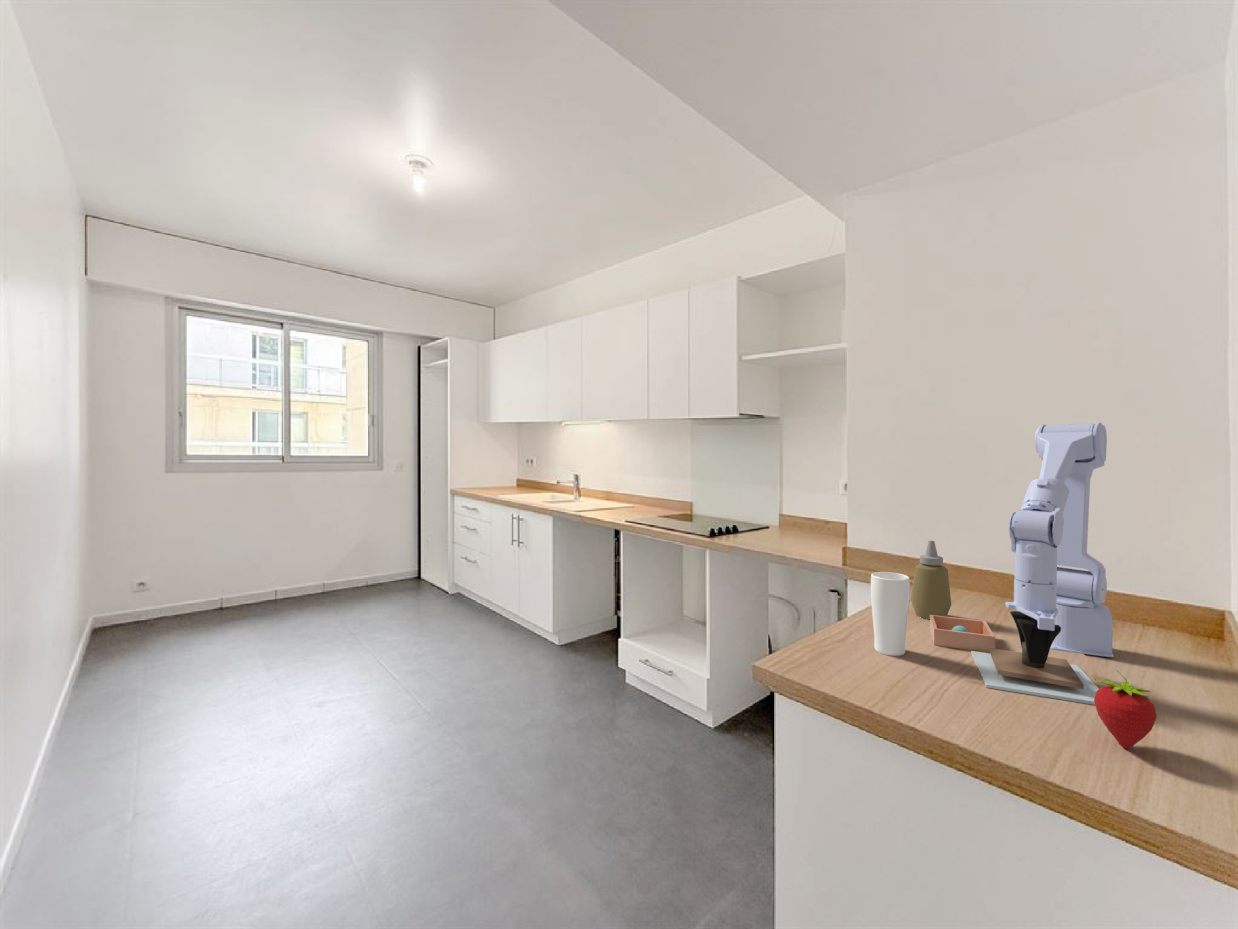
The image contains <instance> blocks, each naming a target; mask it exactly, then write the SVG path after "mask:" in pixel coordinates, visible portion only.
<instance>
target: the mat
mask: <svg viewBox="0 0 1238 929" xmlns="http://www.w3.org/2000/svg"><path fill="white" fill-rule="evenodd" d="M970 653H971V655H972V657H973V660H974V663H975V664H976V666H977V668H978V671H979V673H980V675H981V678H982V679H983V683H984V685H985V688H986V689H987V688H988V689H993V690H994V689H995V690H998V691H999V690H1000V691H1005V692H1012V693H1018V694H1025V695H1030V696H1037V697H1042V698H1043V697H1044V698H1050V699H1055V700H1062V701H1067V702H1074V703H1075V702H1076V703H1081V704H1086V705H1092V706H1095V703H1094V699H1095V694H1096V692H1097V690H1099V689H1100V688H1099V687H1098V685H1096V684H1095V683H1094V681H1093V680H1092V679H1091V678H1090V677H1089V676H1088V675H1087V674H1086V673H1085V672H1084V670H1083V669H1081V667H1080V666H1079V665H1078V664H1071V663H1069V664H1070V666H1071V667H1072V668H1073V670H1074V671H1075V673H1076V674H1077V676H1078V677H1079V678H1080V680H1081V681H1082V683H1083V684H1084V689H1079V688H1073V687H1068V686H1062V685H1056V684H1050V683H1045V682H1039V681H1033V680H1027V679H1021V678H1016V677H1010V676H1004V675H998V673H997V670H996V668H995V665H994V662H993V659H992V656H991V654H990V653H987V652H980V651H973V650H970Z"/></svg>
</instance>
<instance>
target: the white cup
mask: <svg viewBox="0 0 1238 929" xmlns="http://www.w3.org/2000/svg"><path fill="white" fill-rule="evenodd" d="M910 580H911V579H910V576H908V575H906V574H903V573H899V572H898V573H897V572H892V571H891V572H890V571H874V572H872V573H871V574H870V602H871V603H870V604H871V614H872V615H871V617H872V625H873V626H872V627H873V639H874V640H873V643H874V646H873V647H874V649H875V651H876V652H877V653H880V654H881V655H886V656H889V657H901V656H903V655H905V653H906V641H907V630H908V621H909V612H910V611H909V609H910V601H911V584H910V582H911V581H910Z"/></svg>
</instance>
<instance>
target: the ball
mask: <svg viewBox="0 0 1238 929" xmlns="http://www.w3.org/2000/svg"><path fill="white" fill-rule="evenodd" d="M952 631H961V632H968V630H967V629H966V628H965V627H963V626H955V627H954V628H953V629H952Z"/></svg>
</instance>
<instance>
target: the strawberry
mask: <svg viewBox="0 0 1238 929" xmlns="http://www.w3.org/2000/svg"><path fill="white" fill-rule="evenodd" d="M1116 672H1117V673H1118V674H1119V675H1120V676H1122V678H1123V679H1124V680H1125V681H1123V682H1122V681H1121V682H1120V684H1119V683H1116V682H1114V681H1107V680H1101V679H1094V681H1096V682H1099V683H1101V684H1104V686H1102V687H1100V688H1099V690H1097V692H1096V694H1095V699H1094V703H1095V705H1094V707H1095V708H1096V712H1097V715H1098V717H1099V719H1100V720H1101V722H1102V723H1103V724H1104V726H1105V728H1106V729H1107V730H1108V731H1109V733H1110V734H1111V735H1112V736H1113V737H1114V739H1115V741H1117V743H1118V744H1119V745H1120V746H1121V747H1122V748H1123V749H1131V748H1133V747H1134V745H1136V744H1137V743H1139V742H1140V741H1142V740H1143V739H1144V738H1145V737H1146V736H1147V735H1148V734H1149V733H1150V732H1151V731H1152V730H1153V728H1154V725H1155V723H1156V720H1157V716H1158V715H1157V711H1156V707H1155V705H1154V704H1153V702H1152V701H1151V700H1150V699H1149V698H1148V697H1149V696H1148V695H1146V694H1144V693H1145V692H1146V693H1150V692H1151V690H1148V689H1144V688H1139V687H1137V686H1133V685H1131V683H1130V681H1128V679H1127V678H1126V677H1124V675H1122V674H1121V673H1120V672H1119V671H1118V670H1117V669H1116ZM1105 685H1106V686H1105Z"/></svg>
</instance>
